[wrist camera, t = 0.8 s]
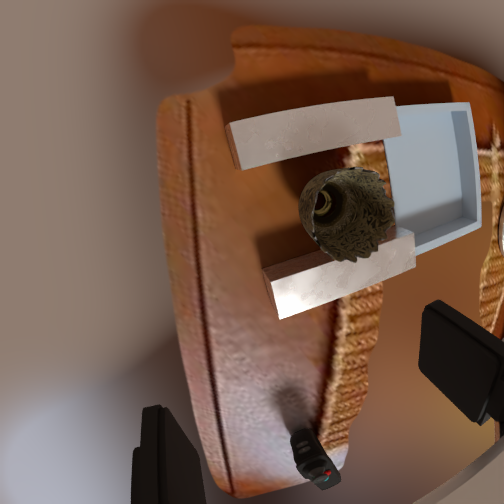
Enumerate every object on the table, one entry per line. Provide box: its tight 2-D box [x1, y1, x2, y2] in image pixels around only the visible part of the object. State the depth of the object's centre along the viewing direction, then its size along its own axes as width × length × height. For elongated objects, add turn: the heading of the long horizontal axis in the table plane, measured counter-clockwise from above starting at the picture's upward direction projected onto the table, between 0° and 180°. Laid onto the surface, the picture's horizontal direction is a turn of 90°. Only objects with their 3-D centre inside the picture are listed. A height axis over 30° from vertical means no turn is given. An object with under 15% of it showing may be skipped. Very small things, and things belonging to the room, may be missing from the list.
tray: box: [383, 103, 481, 256], centre depth 30 cm, size 13×16×3 cm
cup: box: [299, 167, 395, 263], centre depth 26 cm, size 8×7×8 cm
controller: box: [290, 429, 341, 490], centre depth 36 cm, size 4×12×10 cm, turn 27°
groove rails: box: [225, 96, 416, 319], centre depth 29 cm, size 16×18×4 cm
